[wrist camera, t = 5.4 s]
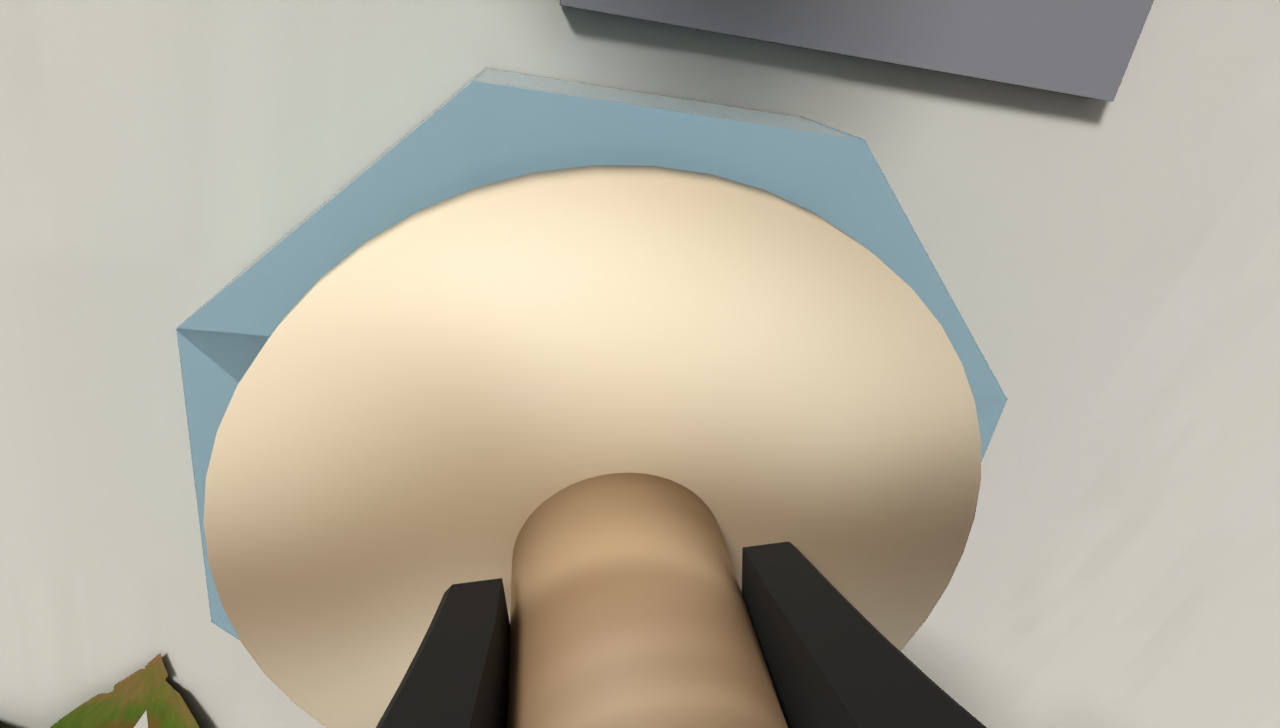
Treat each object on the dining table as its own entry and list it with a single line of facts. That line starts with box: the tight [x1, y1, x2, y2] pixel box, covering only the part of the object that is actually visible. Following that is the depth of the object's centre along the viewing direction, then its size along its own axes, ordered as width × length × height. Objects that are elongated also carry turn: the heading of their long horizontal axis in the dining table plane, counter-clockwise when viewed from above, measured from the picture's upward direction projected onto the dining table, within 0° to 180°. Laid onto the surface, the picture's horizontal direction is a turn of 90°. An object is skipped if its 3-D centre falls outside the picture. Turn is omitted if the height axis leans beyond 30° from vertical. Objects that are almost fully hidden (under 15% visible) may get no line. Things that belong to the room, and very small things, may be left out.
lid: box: [203, 165, 981, 728], centre depth 9 cm, size 11×11×4 cm
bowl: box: [176, 68, 1007, 640], centre depth 12 cm, size 12×12×2 cm
